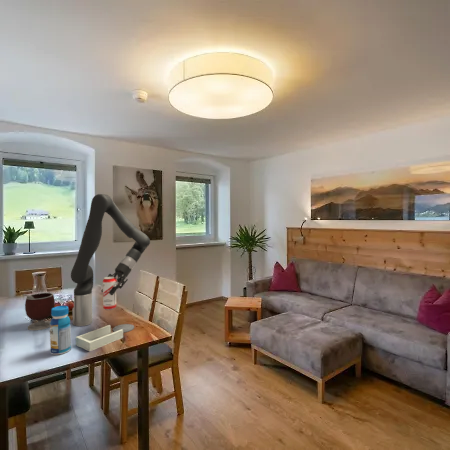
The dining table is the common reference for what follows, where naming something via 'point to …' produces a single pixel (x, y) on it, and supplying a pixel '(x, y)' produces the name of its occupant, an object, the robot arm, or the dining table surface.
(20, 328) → the dining table surface
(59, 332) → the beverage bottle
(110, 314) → the dining table surface
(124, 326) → the mat
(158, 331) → the dining table surface
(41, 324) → the mate gourd
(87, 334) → the cream open tray
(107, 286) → the beer can
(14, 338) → the dining table surface
